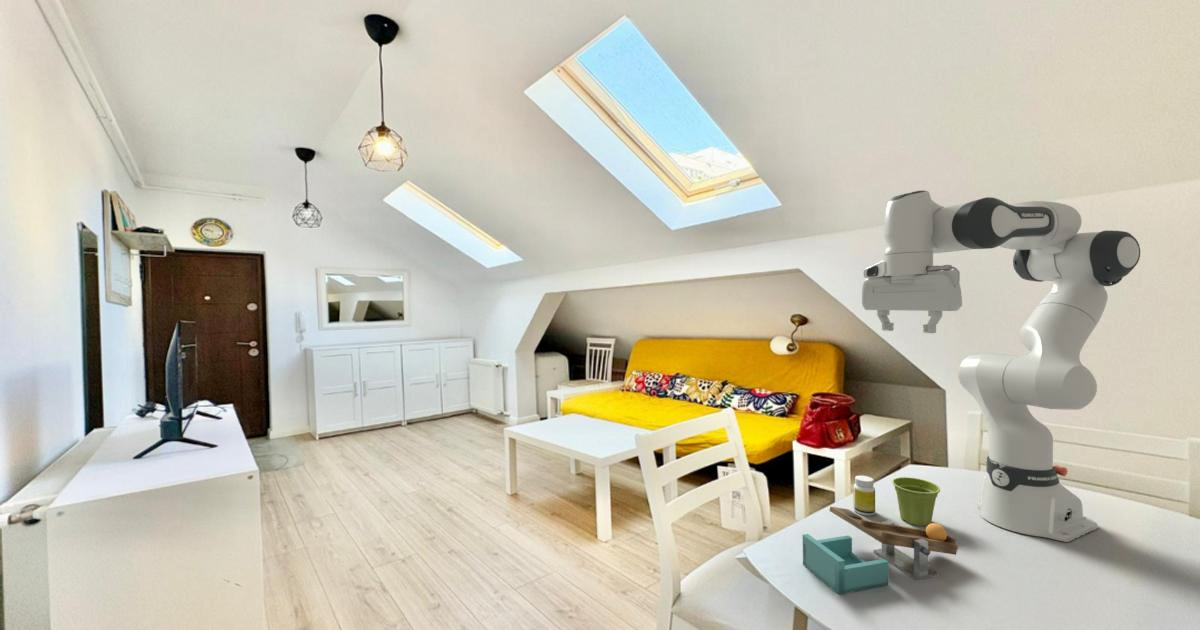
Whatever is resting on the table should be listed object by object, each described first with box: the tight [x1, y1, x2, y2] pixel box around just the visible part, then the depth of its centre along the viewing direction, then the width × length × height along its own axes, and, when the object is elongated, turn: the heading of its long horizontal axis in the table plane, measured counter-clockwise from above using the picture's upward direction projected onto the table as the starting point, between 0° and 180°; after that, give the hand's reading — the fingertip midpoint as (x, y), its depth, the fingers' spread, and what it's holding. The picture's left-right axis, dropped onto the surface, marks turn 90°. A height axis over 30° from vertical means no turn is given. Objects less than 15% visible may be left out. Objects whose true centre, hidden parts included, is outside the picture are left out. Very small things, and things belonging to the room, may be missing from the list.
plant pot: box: [891, 476, 941, 527], centre depth 110 cm, size 9×9×9 cm
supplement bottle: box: [852, 475, 876, 517], centre depth 115 cm, size 5×5×8 cm
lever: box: [829, 506, 959, 556], centre depth 97 cm, size 18×14×3 cm
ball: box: [925, 522, 948, 541], centre depth 94 cm, size 4×4×4 cm
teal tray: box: [802, 533, 890, 595], centre depth 90 cm, size 11×10×6 cm
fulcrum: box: [872, 520, 938, 581], centre depth 93 cm, size 5×10×6 cm, turn 13°
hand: (907, 331), depth 100 cm, fingers open, 8 cm apart
